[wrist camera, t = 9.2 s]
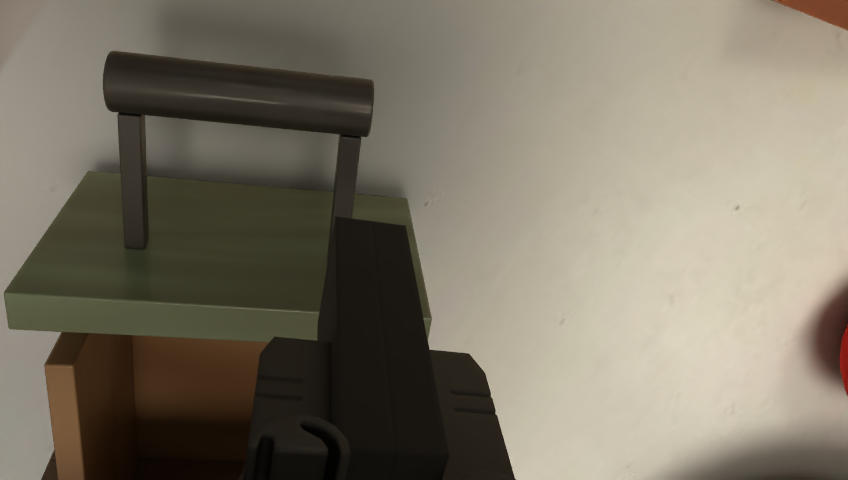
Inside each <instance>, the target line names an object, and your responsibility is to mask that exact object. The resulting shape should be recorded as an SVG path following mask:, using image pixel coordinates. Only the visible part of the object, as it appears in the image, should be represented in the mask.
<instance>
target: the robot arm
mask: <svg viewBox="0 0 848 480" xmlns="http://www.w3.org/2000/svg"><path fill="white" fill-rule="evenodd" d="M490 396H491V393H490V389H489V386H488V382H487V378H486V375H485V372H484V371H483V370H482V369H481V368H480V366H479V365H478V364H477V363H476V362H475V360H474V359H473V358H472V357H471V356H470V354H467V353H457V352H447V351H437V350H429V345H428V340H427V335H426V329H425V324H424V319H423V313H422V308H421V303H420V298H419V292H418V287H417V282H416V276H415V271H414V266H413V260H412V255H411V250H410V245H409V239H408V234H407V229H406V225H398V224H391V223H383V222H375V221H368V220H360V219H353V218H345V217H337V216H336V217H335V223H334V229H333V234H332V240H331V246H330V252H329V258H328V264H327V270H326V276H325V282H324V288H323V294H322V300H321V306H320V312H319V318H318V330H317V341H315V340H305V339H295V338H284V337H274V338H273V339H272V340H271V341H270V342H269V344H268V345H267V346H266V347H265V348H264V350H263V351H262V352H261V353H260V357H259V364H258V372H257V380H256V387H255V395H254V402H253V410H252V418H251V425H250V433H249V441H248V446H247V453H246V461H245V466H244V469H243V472H242V474H241V475H240V477H239V478H238V480H516V479H515V477H514V474H513V471H512V467H511V464H510V460H509V456H508V453H507V449H506V446H505V442H504V439H503V435H502V432H501V428H500V425H499V421H498V417H497V415H495V411H496V410H495V407H494V403H493V400H492V398H491V397H490Z"/></svg>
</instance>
